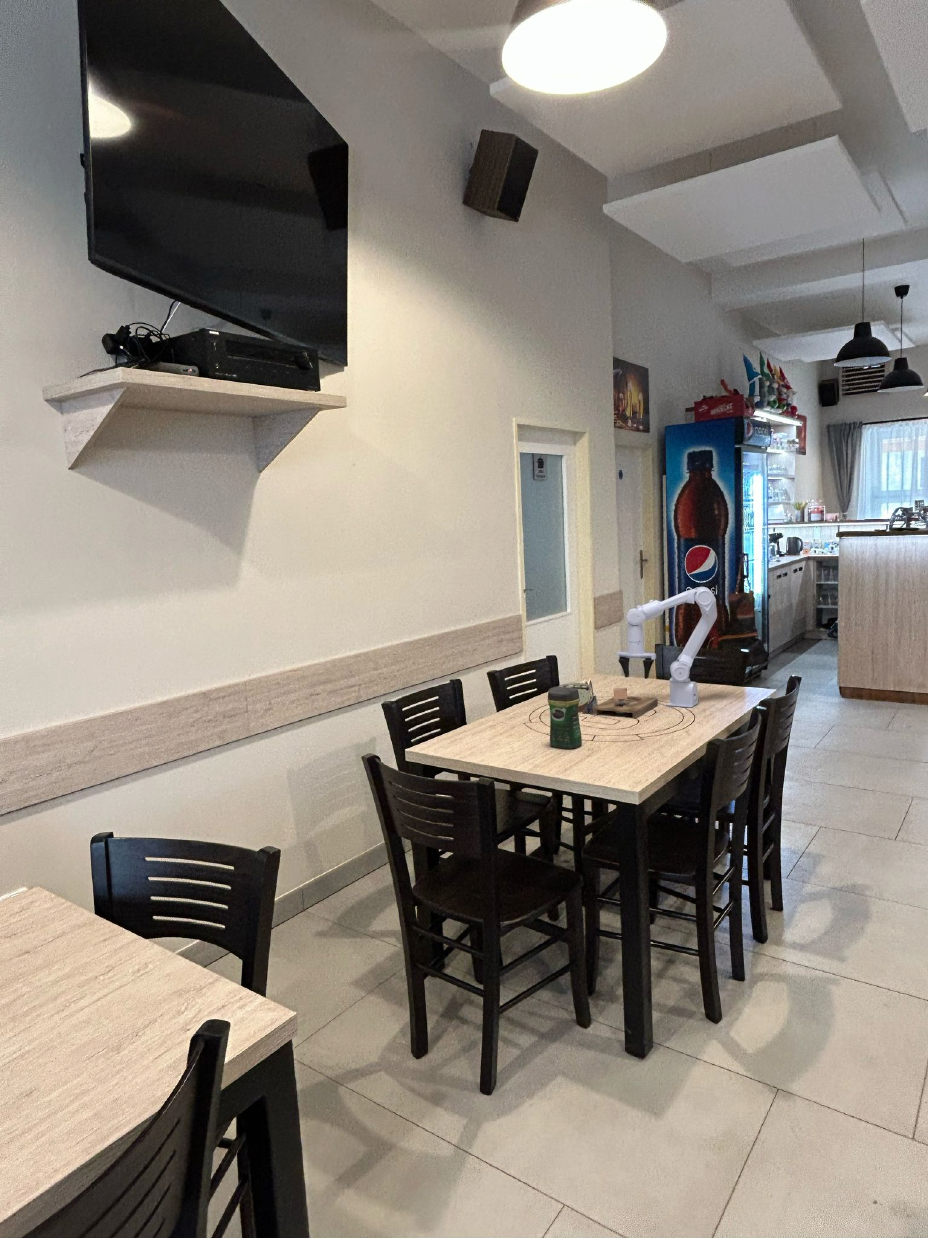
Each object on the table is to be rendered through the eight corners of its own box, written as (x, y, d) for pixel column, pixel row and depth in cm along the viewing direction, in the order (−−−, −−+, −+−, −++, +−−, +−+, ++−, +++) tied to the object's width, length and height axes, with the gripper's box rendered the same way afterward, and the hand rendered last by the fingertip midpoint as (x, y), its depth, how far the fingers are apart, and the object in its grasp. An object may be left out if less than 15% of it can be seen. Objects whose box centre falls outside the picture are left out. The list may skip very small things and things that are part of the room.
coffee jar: (586, 744, 247) (583, 685, 245) (572, 751, 241) (570, 691, 239) (559, 740, 253) (556, 683, 251) (546, 747, 247) (543, 688, 245)
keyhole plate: (657, 705, 291) (657, 698, 291) (636, 718, 275) (635, 710, 274) (617, 702, 301) (616, 695, 300) (593, 714, 284) (593, 707, 284)
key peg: (628, 711, 286) (627, 688, 285) (627, 714, 281) (627, 690, 281) (614, 711, 287) (613, 688, 286) (614, 714, 283) (613, 691, 282)
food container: (591, 708, 294) (590, 681, 293) (592, 712, 288) (591, 685, 287) (557, 709, 295) (556, 683, 294) (558, 713, 289) (556, 686, 288)
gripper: (658, 640, 291) (659, 676, 292) (621, 639, 299) (622, 674, 300) (651, 643, 285) (652, 680, 286) (613, 641, 293) (615, 677, 295)
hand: (636, 677), depth 293 cm, fingers open, 7 cm apart
